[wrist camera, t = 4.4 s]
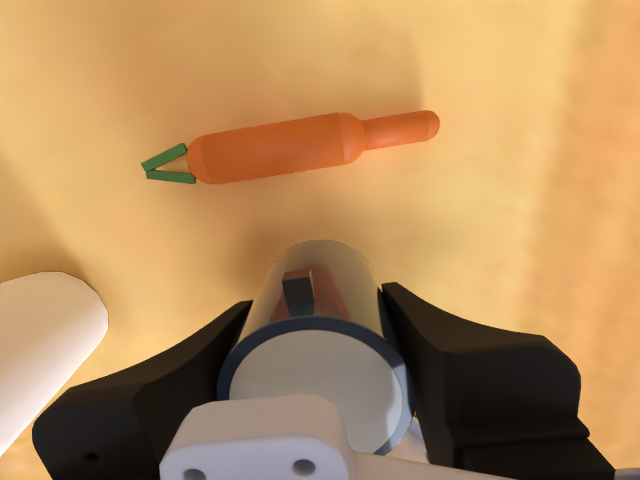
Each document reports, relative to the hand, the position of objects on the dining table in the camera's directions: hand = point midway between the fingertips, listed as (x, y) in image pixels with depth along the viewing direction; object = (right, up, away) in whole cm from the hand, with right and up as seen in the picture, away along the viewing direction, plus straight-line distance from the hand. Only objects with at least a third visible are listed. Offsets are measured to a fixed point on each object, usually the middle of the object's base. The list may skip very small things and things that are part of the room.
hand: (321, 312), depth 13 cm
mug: (0, +1, +2) cm, 2 cm away
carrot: (-1, +9, +4) cm, 9 cm away
